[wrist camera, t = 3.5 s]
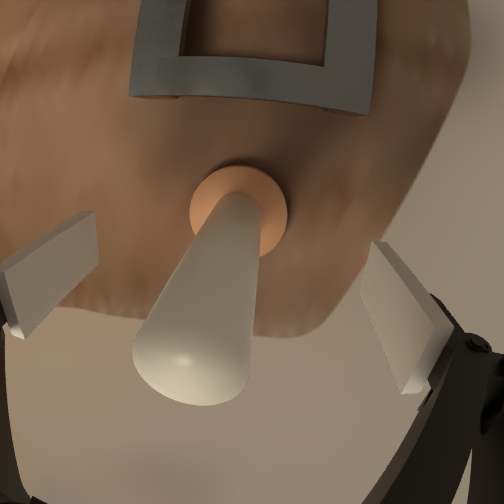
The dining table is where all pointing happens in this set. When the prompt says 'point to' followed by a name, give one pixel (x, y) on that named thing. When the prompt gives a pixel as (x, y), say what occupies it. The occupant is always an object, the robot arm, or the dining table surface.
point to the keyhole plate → (258, 62)
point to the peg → (213, 291)
